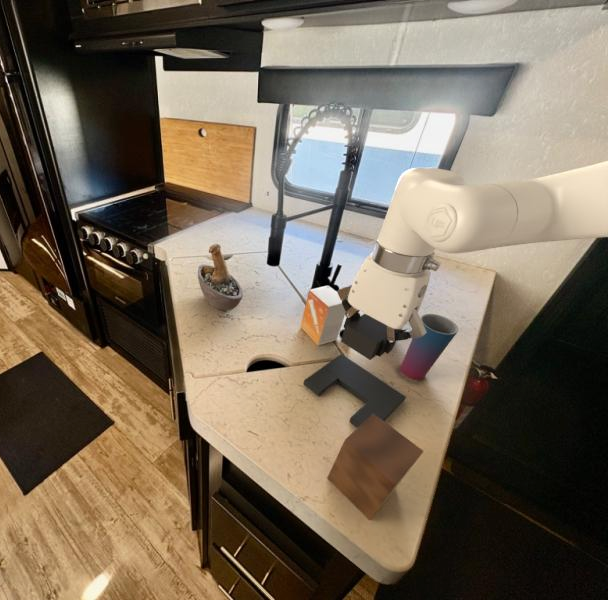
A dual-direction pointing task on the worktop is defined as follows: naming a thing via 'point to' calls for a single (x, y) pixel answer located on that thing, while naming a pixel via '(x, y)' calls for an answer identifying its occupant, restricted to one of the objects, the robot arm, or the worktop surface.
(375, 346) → the black squat block
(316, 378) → the black u-shaped block
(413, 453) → the brown wooden block
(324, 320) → the small box
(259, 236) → the worktop surface
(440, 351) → the cup
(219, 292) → the planter
